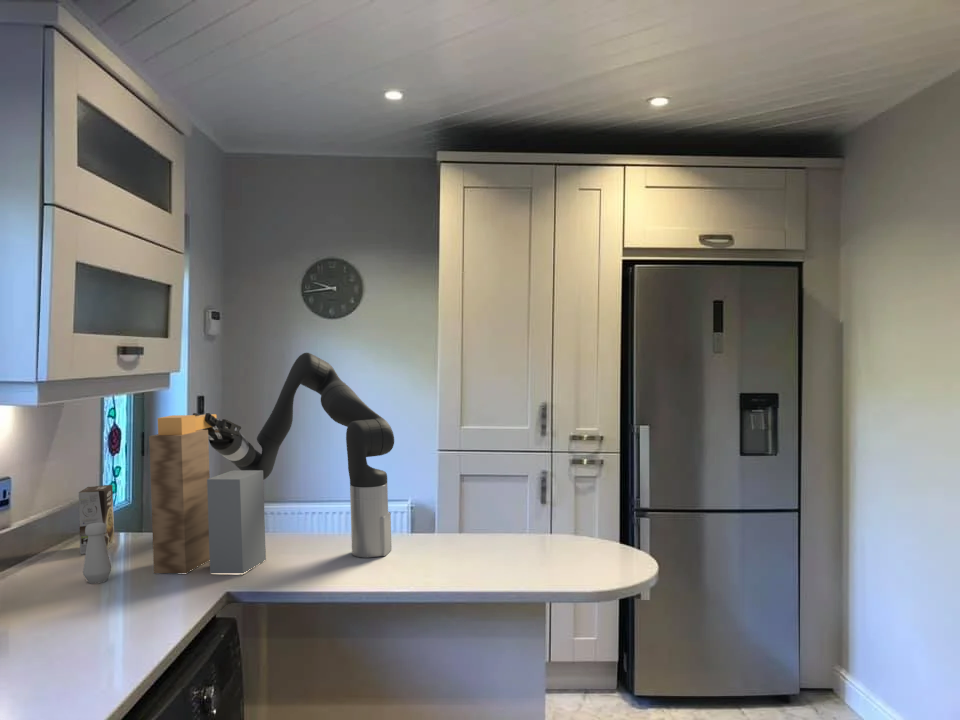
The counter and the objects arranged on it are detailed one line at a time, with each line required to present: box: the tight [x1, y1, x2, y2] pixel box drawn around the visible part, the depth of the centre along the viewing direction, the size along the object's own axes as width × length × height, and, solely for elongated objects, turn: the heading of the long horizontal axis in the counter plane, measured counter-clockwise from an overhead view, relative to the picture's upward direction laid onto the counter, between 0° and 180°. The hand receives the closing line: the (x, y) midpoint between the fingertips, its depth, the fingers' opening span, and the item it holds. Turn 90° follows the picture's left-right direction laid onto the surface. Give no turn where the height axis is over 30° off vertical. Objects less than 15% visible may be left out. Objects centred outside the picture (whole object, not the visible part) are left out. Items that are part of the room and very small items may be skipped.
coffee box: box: [78, 484, 115, 555], centre depth 195 cm, size 9×6×16 cm
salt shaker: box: [82, 523, 112, 585], centre depth 168 cm, size 6×6×13 cm
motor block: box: [207, 469, 267, 574], centre depth 175 cm, size 8×12×22 cm, turn 171°
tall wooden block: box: [148, 430, 211, 574], centre depth 177 cm, size 8×12×32 cm, turn 171°
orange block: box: [157, 413, 218, 435], centre depth 183 cm, size 6×19×4 cm, turn 171°
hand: (200, 416), depth 186 cm, fingers closed on orange block, 3 cm apart
